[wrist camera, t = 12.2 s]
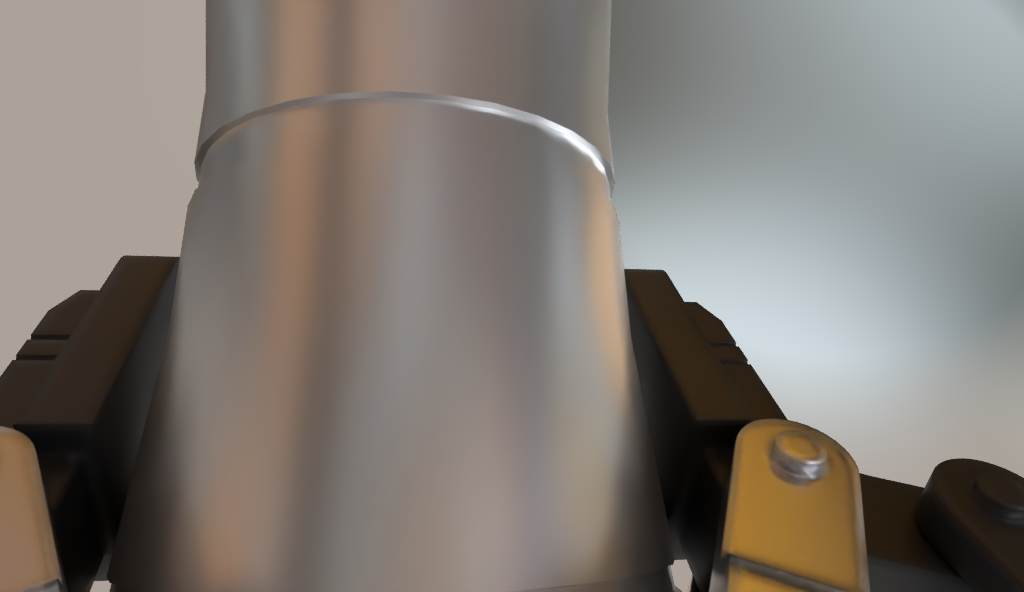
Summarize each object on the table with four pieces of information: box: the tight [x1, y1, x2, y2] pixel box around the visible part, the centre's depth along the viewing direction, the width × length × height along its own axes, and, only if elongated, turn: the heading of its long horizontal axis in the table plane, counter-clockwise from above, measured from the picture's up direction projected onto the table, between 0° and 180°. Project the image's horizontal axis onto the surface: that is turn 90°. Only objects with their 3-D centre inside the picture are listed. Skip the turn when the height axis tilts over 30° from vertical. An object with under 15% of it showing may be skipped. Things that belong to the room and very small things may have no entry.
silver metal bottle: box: [106, 0, 682, 592], centre depth 10 cm, size 6×7×20 cm
